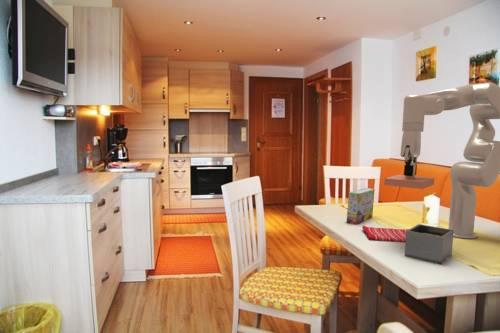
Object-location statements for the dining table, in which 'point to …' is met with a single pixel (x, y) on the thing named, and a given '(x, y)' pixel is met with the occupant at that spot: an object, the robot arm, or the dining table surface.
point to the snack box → (360, 205)
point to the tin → (429, 243)
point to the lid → (409, 180)
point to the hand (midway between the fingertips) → (410, 174)
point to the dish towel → (385, 234)
